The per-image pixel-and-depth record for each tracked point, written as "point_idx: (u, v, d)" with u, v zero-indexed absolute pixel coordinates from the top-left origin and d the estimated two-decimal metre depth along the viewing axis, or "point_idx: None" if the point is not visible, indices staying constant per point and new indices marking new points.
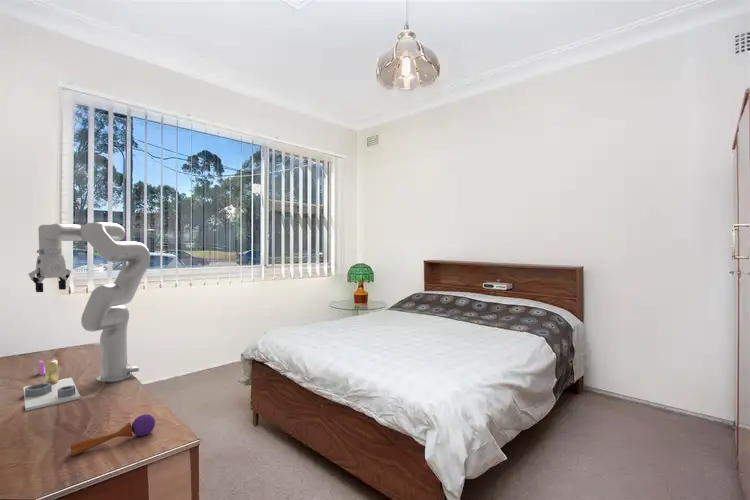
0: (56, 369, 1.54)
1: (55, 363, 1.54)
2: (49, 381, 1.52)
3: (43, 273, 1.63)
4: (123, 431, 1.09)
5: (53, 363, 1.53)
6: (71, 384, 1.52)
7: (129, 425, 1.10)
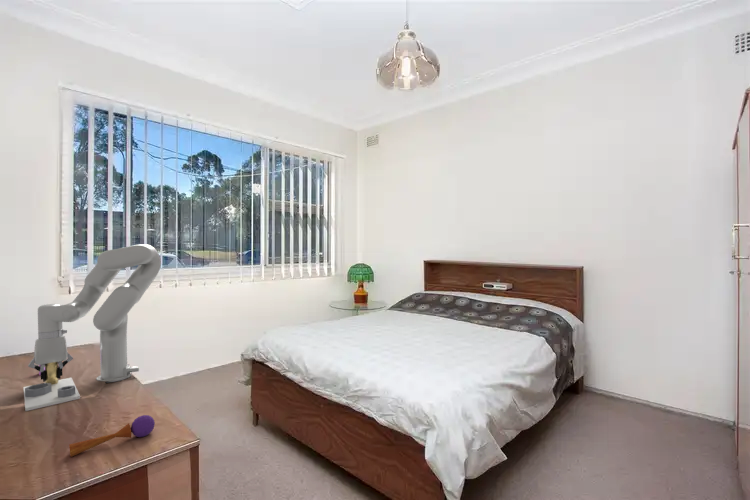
0: (56, 369, 1.54)
1: (55, 363, 1.54)
2: (49, 381, 1.52)
3: None
4: (122, 432, 1.08)
5: (53, 363, 1.53)
6: (71, 384, 1.52)
7: (128, 426, 1.10)
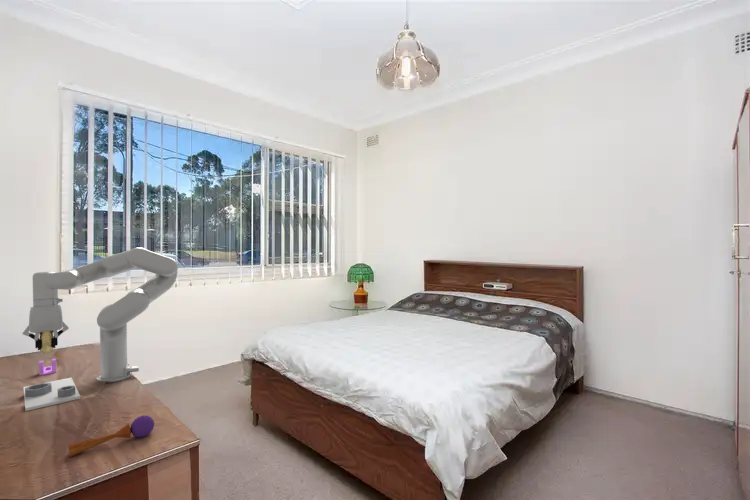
0: (51, 338, 1.51)
1: (50, 332, 1.50)
2: (44, 350, 1.49)
3: None
4: (121, 432, 1.08)
5: (48, 332, 1.50)
6: (71, 384, 1.52)
7: (128, 426, 1.09)
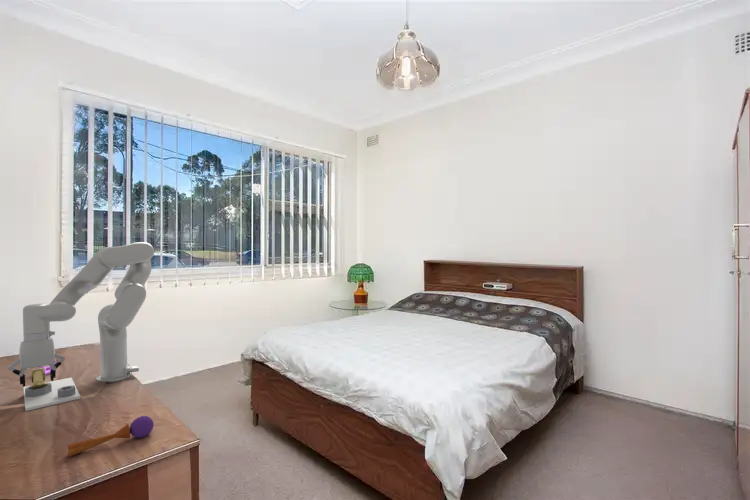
0: (43, 378, 1.44)
1: (42, 371, 1.43)
2: None
3: None
4: (121, 432, 1.08)
5: (40, 371, 1.43)
6: (71, 384, 1.52)
7: (127, 427, 1.09)
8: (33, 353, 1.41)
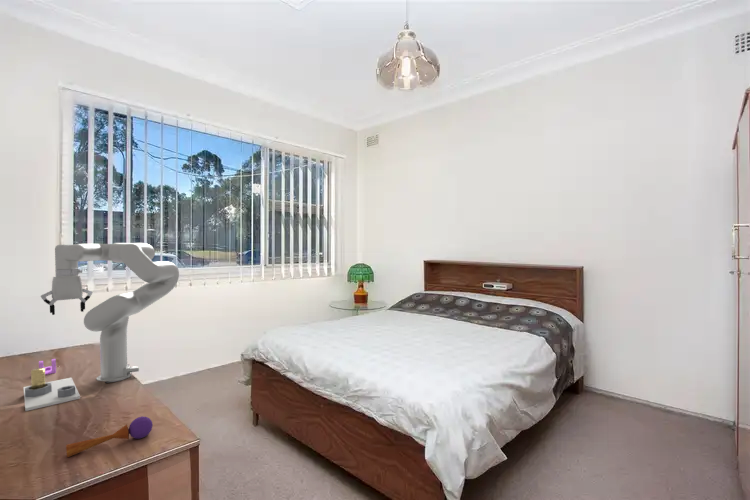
0: (43, 378, 1.44)
1: (42, 371, 1.44)
2: None
3: None
4: (119, 433, 1.08)
5: (40, 371, 1.43)
6: (71, 384, 1.52)
7: (126, 427, 1.09)
8: (64, 287, 1.60)
